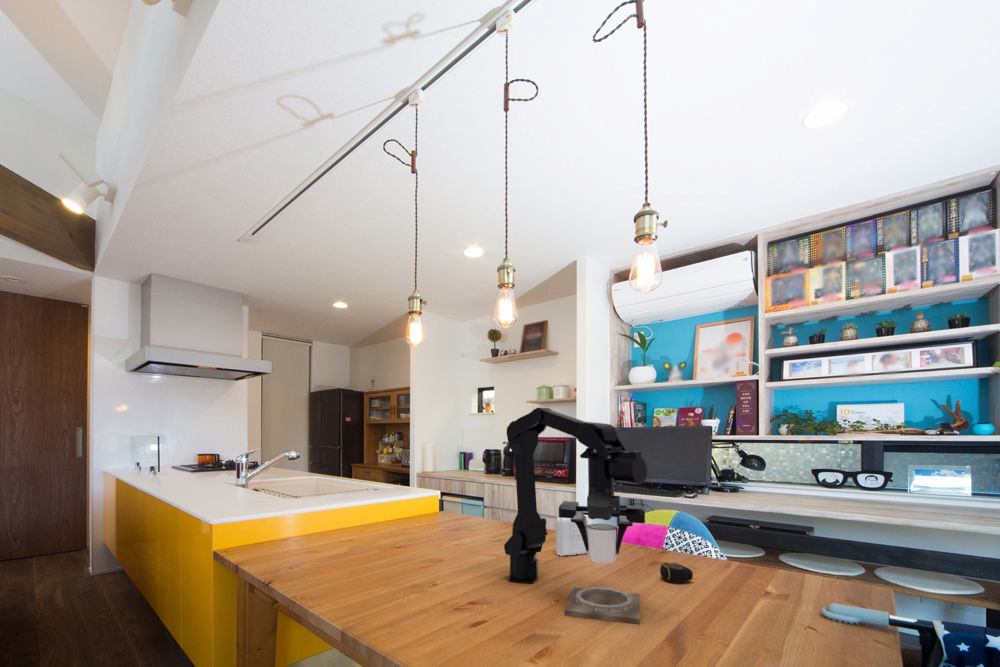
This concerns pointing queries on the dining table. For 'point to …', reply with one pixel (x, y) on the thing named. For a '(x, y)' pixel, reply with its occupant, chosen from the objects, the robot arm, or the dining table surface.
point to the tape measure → (675, 572)
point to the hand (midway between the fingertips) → (602, 552)
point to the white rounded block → (568, 537)
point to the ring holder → (604, 605)
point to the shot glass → (602, 542)
